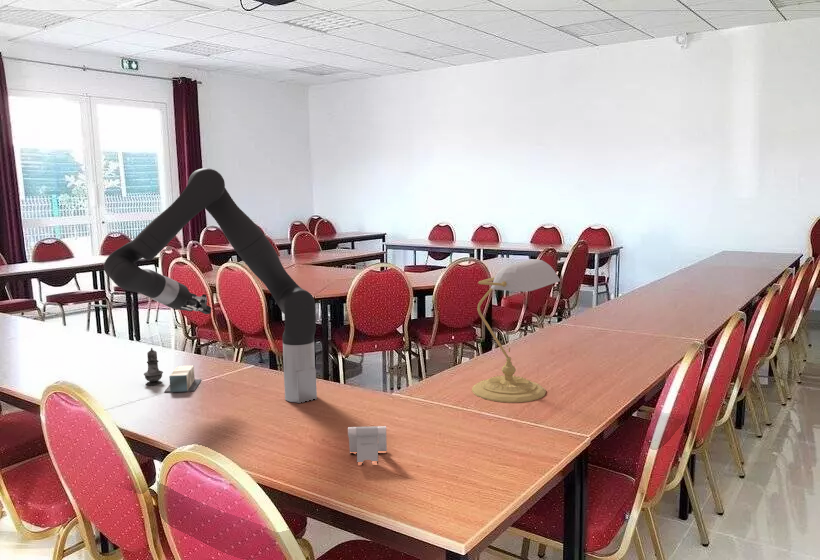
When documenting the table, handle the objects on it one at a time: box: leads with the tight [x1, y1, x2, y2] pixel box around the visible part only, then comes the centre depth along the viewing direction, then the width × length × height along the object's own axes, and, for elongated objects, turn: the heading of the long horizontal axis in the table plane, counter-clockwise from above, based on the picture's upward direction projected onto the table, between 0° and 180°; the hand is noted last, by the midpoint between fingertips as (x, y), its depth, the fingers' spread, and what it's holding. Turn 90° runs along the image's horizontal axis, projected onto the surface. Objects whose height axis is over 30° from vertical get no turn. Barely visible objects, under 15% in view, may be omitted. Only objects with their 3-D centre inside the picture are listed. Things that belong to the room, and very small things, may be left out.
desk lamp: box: [471, 258, 561, 404], centre depth 197 cm, size 31×23×40 cm
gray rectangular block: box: [163, 378, 202, 393], centre depth 208 cm, size 12×9×1 cm
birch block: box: [169, 364, 196, 393], centre depth 207 cm, size 5×5×12 cm
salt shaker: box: [143, 347, 164, 387], centre depth 211 cm, size 6×6×12 cm
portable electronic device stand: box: [347, 425, 388, 463], centre depth 150 cm, size 9×8×8 cm
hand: (209, 311), depth 200 cm, fingers closed
